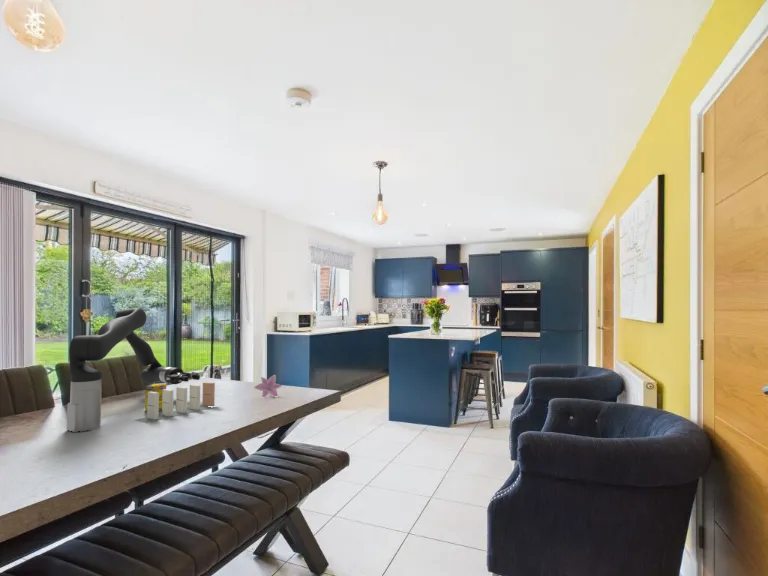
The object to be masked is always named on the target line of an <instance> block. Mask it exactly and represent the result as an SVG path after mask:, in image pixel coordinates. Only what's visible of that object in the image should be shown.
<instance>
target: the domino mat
mask: <svg viewBox="0 0 768 576" xmlns="http://www.w3.org/2000/svg"><path fill="white" fill-rule="evenodd" d="M210 409H215V408H214V407H213V408H211V407H208V406H202V404H200V409H199V410H193V409H189V407H187V412H186V413H180V412H176V410H173V416H166V415H162V413H158V419H155V420H153V419H149V418H147V416H145V417H141V418H135V421H137V422H141V423H145V424H149V423H154V422H157V421H162V420H167V419H171V418H175V417H180V416H185V415H188V414H189V415H190V414H193V413H197V412H202V411H206V410H207V411H208V410H210Z"/></svg>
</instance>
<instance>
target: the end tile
mask: <svg viewBox="0 0 768 576" xmlns="http://www.w3.org/2000/svg"><path fill="white" fill-rule="evenodd" d="M158 410H159V393H158V392H152V391H151V392H148V398H147V412H146V417H147V418H149V419H153V420H155V419H158V415H159V412H158Z"/></svg>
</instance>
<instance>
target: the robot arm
mask: <svg viewBox="0 0 768 576" xmlns="http://www.w3.org/2000/svg"><path fill="white" fill-rule="evenodd" d="M146 322H147V313H146V312H145V310H144V309H143V308H140V307H132V308H126V309H121V310H118V311H117V312H116V314H115V318H113V319H111V320H108V321H107V322H106V323H103V325H102V326H100V328H99V330H98V334H97V335H75V336H74V337H72V338H71V341H70V343H69V348H68V352H69V353H68V355H69V356H68V357H69V358H68V360H69V375H70V376H69V377H70V391H69V392H70V396H69V402H68V403H67V404H66V406H67V410H66V431H68V430H69V431H70V432H71V431H72V432H71V433H79V432H78V431H80V432H87V430H88V431H92V430H94V429H98V428H100V427H101V422H102V421H101V420H102V419H101V417H102V415H101V414H102V384H103V383H102V378H103V374H102V371H101V370H99V369H96V368H93V367H91V366H90V365H88V364H87V362H96V361H97V362H98V361H101V360H102V359H104V358H105V357H107V355H109V353H110V352H111V351H112V349H114V348H115V346H117V345H118V344H120V343H121V342H122V341H123V340H124V339H126V341H127V342H128V344H129V345H130V347H131V348H132V350H133V352H134V354H135V356H136V359H137V361H138V363H139V365H140V366H142V367H144V369H142V370H141V371H140V374H139V378H140V379H141V381H142V382H144V383H147V384H156V383H158V382H161V383H164V384H170V385H178V384H181V383H183V382H185V383H187V382H189V381H191V380H196V381H199V380H200V379H201V378H200V377H201V375H200V374H199V373H198V372H195V371H191V372H189V371H188V372H187V371H184V370H183V369H182V368H181V367H173V366H164V365H162V364H161V363H160V362H159V360H158V359H157V358H156V356H155V354H154V351H153V349H152V347H151V345H150V344H149V343H148V342H147V341H146V340H144V339H143V338H141V337H140V336H138V335H137V334H136V333H135V332H134V331H136V330H137V329H140V328H142V327H143V326H145V324H146ZM145 367H146V368H145ZM69 431H68V432H69Z"/></svg>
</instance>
